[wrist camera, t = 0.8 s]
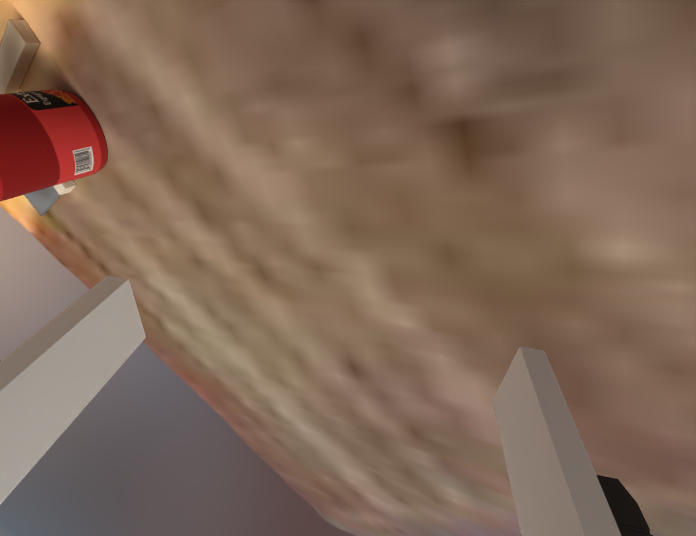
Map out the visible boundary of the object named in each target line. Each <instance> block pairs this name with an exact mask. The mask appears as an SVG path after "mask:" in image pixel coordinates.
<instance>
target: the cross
mask: <svg viewBox="0 0 696 536" xmlns="http://www.w3.org/2000/svg"><path fill="white" fill-rule="evenodd" d="M39 45H40V42H39V40H38V39H37V37H36V36H35V34H34V33H33V32H32V30H31V29H30V27H29V26H28V24H27V23H26V21H25V20H9V22H8V24H7V27H6V30H5V33H4V35H3V38H2V41H1V44H0V94H8V93H17V92H18V90H19V88H20V85H21V83H22V81H23V79H24V77H25V75H26V73H27V70H28V68H29V66H30V64H31V62H32V60H33V58H34V55H35V53H36V51H37V49H38V47H39ZM75 186H76V184H75V183H74V182H73V180H72V181H68V182H65V183H61V184H58V185H55V186H51V187H48V188H44V189H41V190H38V191H34V192H31V193H27V194H24V195H25V196H26V198H27V199H28V200H29V202H30V203H31V204H32V205H33V207H34V208H35V209H36V211H37V212H38V213H39V214H40V216H42V215H44V214H45V213H46V212H47V211H48V210H49V209H50V207H51V206H52V205H53V204H54V203H55V202H56V201H57V199H58V198H59V197H60V196H61V195H62V194H65V193H68V192H71V191H72V190H73V188H74V187H75Z"/></svg>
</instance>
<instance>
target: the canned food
mask: <svg viewBox="0 0 696 536" xmlns="http://www.w3.org/2000/svg"><path fill="white" fill-rule="evenodd" d="M106 161H107V145H106V141H105V137H104V135H103V132H102V129H101V127H100V125H99V123H98V121H97V120H96V118H95V116H94V115H93V113H92V112H91V111H90V109H89V108H88V107H87V106H86V105H85V103H84V102H83V101H81V100H80V99H79V98H78V97H77V96H75V95H73V94H72V93H69V92H66V91H61V90H42V91H31V92H20V93H8V94H0V201H4V200H7V199H10V198H14V197H17V196H21V195H24V194H27V193H31V192H34V191H38V190H41V189H44V188H48V187H51V186H55V185H58V184H61V183H65V182H68V181H72V180H75V179H78V178H82V177H85V176H89V175H92V174H95V173H96V172H98V171H99V170H100V169H102V168H103V167H104V166H105V164H106Z"/></svg>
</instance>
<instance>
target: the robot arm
mask: <svg viewBox="0 0 696 536" xmlns="http://www.w3.org/2000/svg"><path fill="white" fill-rule="evenodd" d="M145 338H146V336H145V333H144V330H143V326H142V323H141V319H140V316H139V313H138V309H137V306H136V302H135V299H134V296H133V292H132V289H131V286H130V282H129V279H125V278H119V277H113V276H106V277H105V278H104V279H103V280H101V281H100V282H99V283H98V284H96V285H95V286H94V287H93V288H91V289H90V290H89V291H88V292H86V293H85V294H84V295H83V296H81V297H80V298H79V299H78V300H76V301H75V302H74V303H73V304H71V305H70V306H69V307H68V308H66V309H65V310H64V311H63V312H61V313H60V314H59V315H58V316H57V317H56V318H54V319H53V320H51V321H50V322H49V323H48V324H47V325H45V326H44V327H43V328H42V329H40V330H39V331H38V332H36V333H35V334H34V335H33V336H31V337H30V338H29V339H28V340H26V341H25V342H24V343H23V344H21V345H20V346H19V347H18V348H16V349H15V350H14V351H13V352H12V353H10V354H9V355H8V356H6V357H5V358H4V359H3V360H1V361H0V504H1V503H2V502H3V501H4V500H5V499H6V497H7V496H8V495H9V494H10V493H11V492H12V490H13V489H14V488H15V487H16V486H17V485H18V484H19V482H20V481H21V480H22V479H23V478H24V477H25V476H26V474H27V473H28V472H29V471H30V470H31V469H32V467H33V466H34V465H35V464H36V463H37V462H38V461H39V459H40V458H41V457H42V456H43V455H44V454H45V453H46V451H47V450H48V449H49V448H50V447H51V446H52V445H53V443H54V442H55V441H56V440H57V439H58V437H60V435H61V434H62V433H63V432H64V431H65V430H66V428H67V427H68V426H69V425H70V424H71V422H73V420H74V419H75V418H76V417H77V416H78V415H79V414H80V412H81V411H82V410H83V409H84V408H85V406H87V404H88V403H89V402H90V401H91V399H92V398H93V397H94V396H95V395H96V394H97V393H98V392H99V391H100V389H101V388H102V387H103V386H104V385H105V384H106V383H107V381H108V380H109V379H110V378H111V377H112V376H113V375H114V373H115V372H116V371H117V370H118V369H119V368H120V366H121V365H122V364H123V363H124V362H125V361H126V360H127V358H128V357H129V356H130V355H131V354H132V353H133V352H134V350H135V349H136V348H137V347H138V346H139V344H141V342H142V341H143V340H144V339H145ZM492 402H493V407H494V411H495V416H496V420H497V425H498V430H499V434H500V439H501V443H502V448H503V452H504V457H505V462H506V466H507V471H508V475H509V480H510V485H511V489H512V494H513V498H514V503H515V508H516V512H517V517H518V521H519V526H520V530H521V535H522V536H653V535H651V534H650V532H649V531H650V529H649V527H648V525H647V523H646V521H645V519H644V516H643V514H642V512H641V510H640V508H639V506H638V504H637V502H636V501H635V500H634V499H633V497H632V496H631V495H630V494H629V492H628V491H627V490H626V489H625V487H624V486H623V485H622V484H621V482H620V481H619V480H618V479H615V478H610V477H604V476H599V475H596V473H595V471H594V468H593V466H592V464H591V461H590V459H589V456H588V454H587V452H586V449H585V447H584V444H583V442H582V440H581V437H580V435H579V432H578V430H577V428H576V425H575V423H574V420H573V418H572V416H571V413H570V411H569V408H568V406H567V404H566V401H565V399H564V396H563V394H562V392H561V389H560V387H559V384H558V382H557V380H556V377H555V375H554V372H553V370H552V368H551V365H550V363H549V360H548V358H547V356H546V353H545V351H543V350H537V349H531V348H525V347H519V349H518V351H517V353H516V355H515V357H514V359H513V361H512V363H511V365H510V367H509V369H508V371H507V373H506V375H505V377H504V379H503V381H502V383H501V385H500V387H499V389H498V391H497V393H496V395H495V397H494V398H493V400H492Z"/></svg>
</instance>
